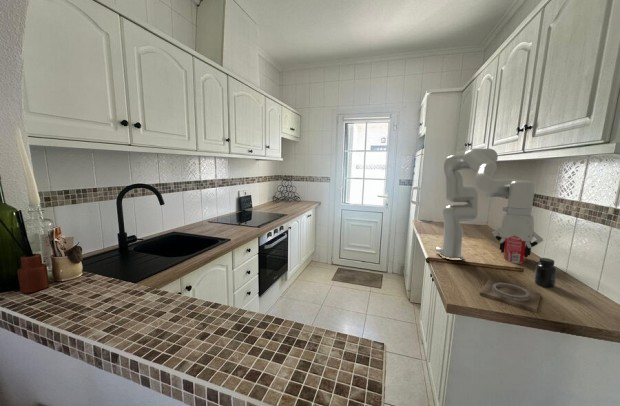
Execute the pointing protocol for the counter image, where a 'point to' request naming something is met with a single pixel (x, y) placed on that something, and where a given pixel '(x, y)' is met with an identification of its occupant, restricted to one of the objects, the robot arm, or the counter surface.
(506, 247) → the soda can
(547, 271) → the supplement bottle
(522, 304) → the locating board
